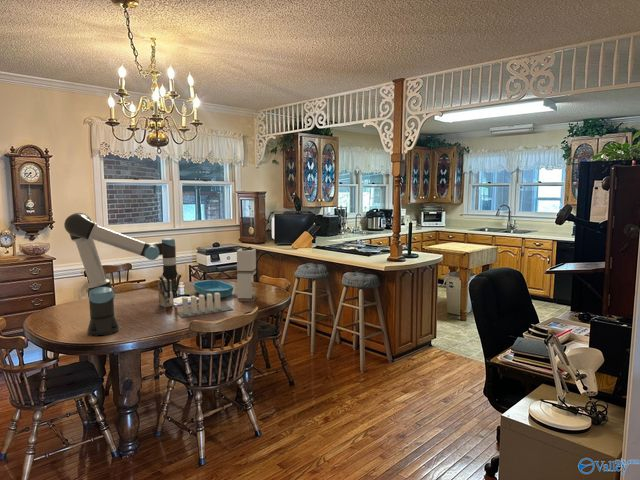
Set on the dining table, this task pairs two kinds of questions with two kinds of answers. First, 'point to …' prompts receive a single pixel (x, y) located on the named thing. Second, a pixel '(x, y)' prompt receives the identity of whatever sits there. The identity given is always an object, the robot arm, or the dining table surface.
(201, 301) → the domino
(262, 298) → the dining table surface
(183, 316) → the runner mat
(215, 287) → the casserole dish
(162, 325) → the dining table surface
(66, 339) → the dining table surface
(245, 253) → the gray square tower
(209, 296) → the domino
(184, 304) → the domino
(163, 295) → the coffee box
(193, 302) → the domino
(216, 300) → the domino
